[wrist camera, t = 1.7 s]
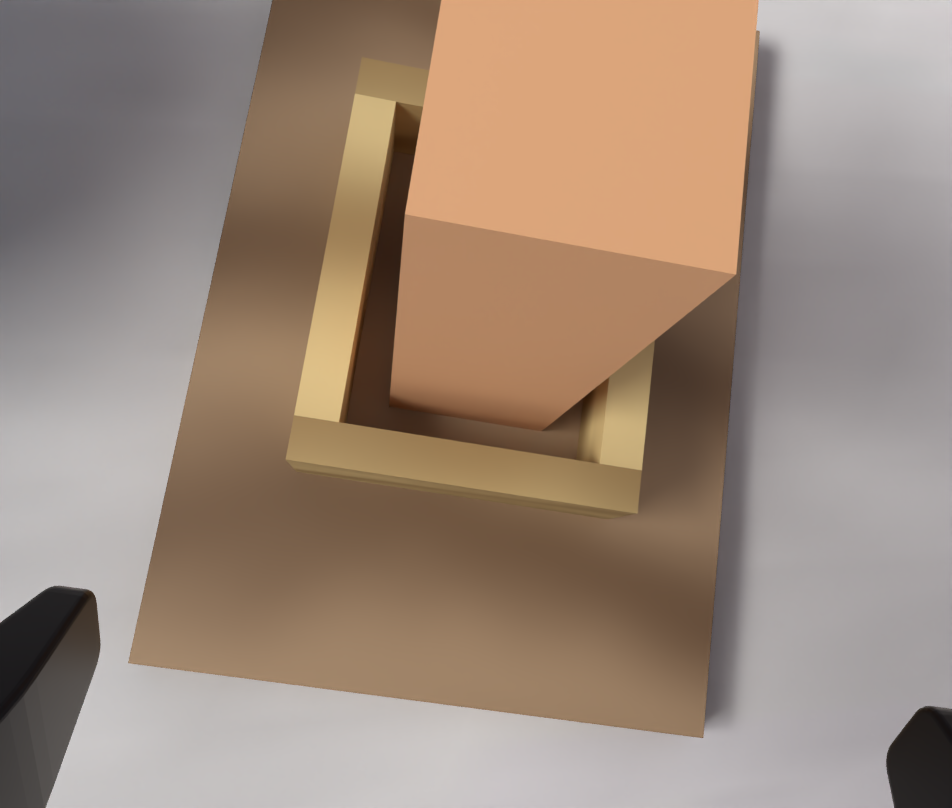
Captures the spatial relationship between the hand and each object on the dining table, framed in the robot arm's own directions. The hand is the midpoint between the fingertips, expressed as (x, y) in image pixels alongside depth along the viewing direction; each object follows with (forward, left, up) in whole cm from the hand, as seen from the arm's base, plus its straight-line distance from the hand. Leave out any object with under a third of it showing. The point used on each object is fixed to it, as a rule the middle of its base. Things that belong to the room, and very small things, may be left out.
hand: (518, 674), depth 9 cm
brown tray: (+4, -7, -13) cm, 15 cm away
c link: (+4, -7, -12) cm, 14 cm away
